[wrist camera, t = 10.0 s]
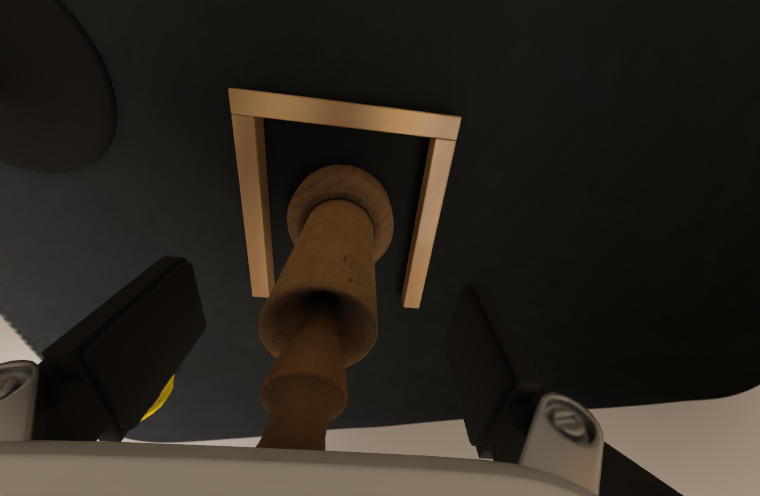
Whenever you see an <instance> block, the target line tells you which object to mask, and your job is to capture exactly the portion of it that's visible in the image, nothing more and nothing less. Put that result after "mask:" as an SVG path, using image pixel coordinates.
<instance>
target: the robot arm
mask: <svg viewBox="0 0 760 496" xmlns="http://www.w3.org/2000/svg"><path fill="white" fill-rule="evenodd" d="M205 326H206V320H205V316H204V312H203V308H202V304H201V300H200V296H199V291H198V287H197V283H196V279H195V275H194V271H193V267H192V264H191V263H189V262H187V260H186V259H185V258H182V257H170V256H164V257H162V258H160V259H159V260H158V261H157V262H155V263H154V264H153V265H151V266H150V267H149V268H148V269H146V270H145V271H144V272H143V273H141V274H140V275H139V276H138V277H136V278H135V279H134V280H132V281H131V282H130V283H129V284H127V285H126V286H125V287H124V288H122V289H121V290H120V291H119V292H117V293H116V294H115V295H114V296H112V297H111V298H110V299H108V300H107V301H106V302H105V303H103V304H102V305H101V306H100V307H98V308H97V309H96V310H95V311H93V312H92V313H91V314H89V315H88V316H87V317H86V318H84V319H83V320H82V321H81V322H79V323H78V324H77V325H76V326H74V327H73V328H72V329H71V330H69V331H68V332H67V333H65V334H64V335H63V336H62V337H60V338H59V339H58V340H57V341H55V342H54V343H53V344H52V345H50V346H49V347H48V348H47V349H45V350H44V351H43V352H41V353H42V354H43V356H44V357H45V359H44V360H43V361H42V362H40V363H39V364H38V365H37V364H36V363H35V362H33V361H28V360H16V361H9V362H5V363H1V364H0V496H683V495H681V494H680V493H678V492H677V491H676V490H674V489H673V488H671V487H670V486H668V485H667V484H665V483H664V482H662V481H661V480H659V479H658V478H656V477H655V476H654V475H652V474H651V473H649V472H648V471H646V470H645V469H643V468H642V467H640V466H639V465H638V464H636V463H635V462H633V461H632V460H630V459H629V458H627V457H626V456H625V455H623V454H621V453H620V452H619V451H617V450H616V449H614V448H613V447H611V446H610V445H609V444H607V443H606V442H604V437H603V431H602V429H601V427H600V425H599V423H598V421H597V420H596V419H595V417H594V416H593V414H591V412H590V411H588V410H587V409H586V408H585V407H584V406H583V405H582V404H580V403H579V402H577V401H576V400H575V399H572V398H570V397H568V396H566V395H563V394H559V393H548V391H547V389H546V388H545V386H544V384H543V382H542V380H541V379H540V377H539V375H538V373H537V372H536V370H535V368H534V366H533V365H532V363H531V361H530V359H529V358H528V356H527V354H526V352H525V350H524V349H523V347H522V345H521V343H520V342H519V340H518V338H517V336H516V335H515V333H514V331H513V329H512V328H511V326H510V325H509V324H508V323H507V322H506V320H505V318H504V316H503V314H502V313H501V311H500V309H499V307H498V305H497V304H496V302H495V300H494V298H493V297H492V295H491V293H490V291H489V289H488V288H487V286H486V285H485V284H482V283H471V282H469V283H467V285H466V286H462V287H461V290H460V293H459V296H458V299H457V302H456V306H455V309H454V312H453V315H452V319H451V322H450V325H449V328H448V331H447V335H446V338H445V351H446V355H447V358H448V362H449V366H450V370H451V374H452V377H453V381H454V385H455V389H456V392H457V396H458V400H459V404H460V407H461V411H462V415H463V419H464V423H465V426H466V430H467V434H468V437H469V441H470V443H471V445H473V446H476V449H477V452H478V456H479V458H487V459H493V461H489V460H478V459H463V458H450V457H435V456H418V455H400V454H397V455H396V454H380V453H360V452H339V451H319V450H297V449H276V448H253V447H252V448H251V447H230V446H207V445H182V444H157V443H131V442H121V441H122V439H123V438H124V437H125V435H126V434H127V433H128V431H129V430H130V429H133V428H135V427H136V426H137V425H138V424H139V423H140V421H141V420H142V418H143V417H144V416H145V414H146V413H147V411H148V410H149V409H150V407H151V406H152V404H153V403H154V401H155V400H156V399H157V397H158V396H159V394H160V393H161V392H162V390H163V389H164V387H165V386H166V384H167V383H168V382H169V380H170V379H171V377H172V376H173V375H174V373H175V372H176V370H177V369H178V367H179V366H180V365H181V363H182V362H183V360H184V359H185V358H186V356H187V355H188V353H189V352H190V350H191V349H192V348H193V346H194V345H195V343H196V342H197V341H198V339H199V338H200V336H201V335H202V334H203V332H204V330H205ZM97 439H99V441H97ZM101 441H109V442H101Z"/></svg>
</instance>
